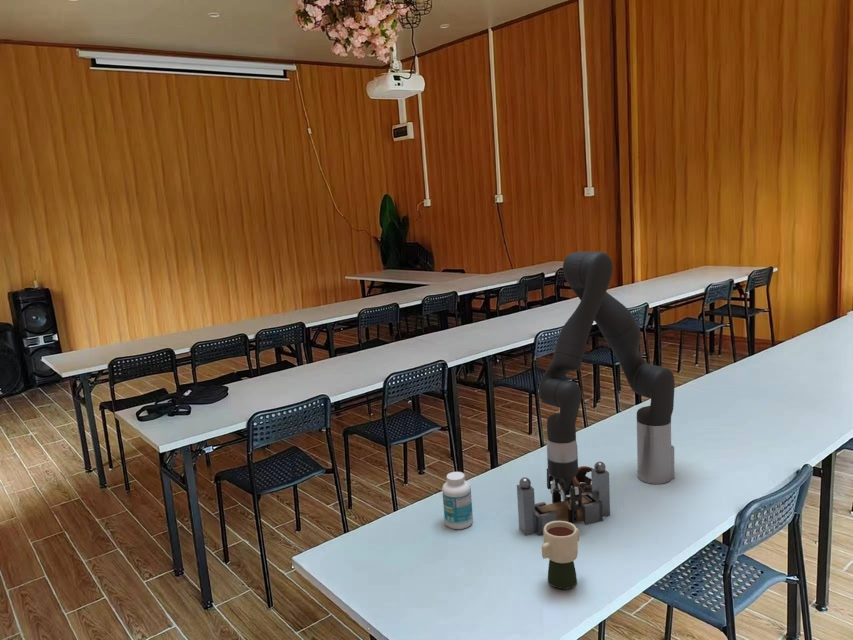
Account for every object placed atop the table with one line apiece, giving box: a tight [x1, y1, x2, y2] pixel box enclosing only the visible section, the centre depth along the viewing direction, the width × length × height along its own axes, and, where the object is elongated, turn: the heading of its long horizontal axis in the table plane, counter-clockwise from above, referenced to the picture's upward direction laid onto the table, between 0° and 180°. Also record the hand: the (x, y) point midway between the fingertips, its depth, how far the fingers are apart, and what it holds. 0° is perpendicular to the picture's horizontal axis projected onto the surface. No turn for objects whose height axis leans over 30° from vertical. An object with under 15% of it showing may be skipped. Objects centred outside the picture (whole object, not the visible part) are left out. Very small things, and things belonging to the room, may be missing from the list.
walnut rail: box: [536, 495, 592, 525], centre depth 168 cm, size 14×3×5 cm, turn 107°
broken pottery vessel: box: [573, 465, 594, 494], centre depth 184 cm, size 12×10×8 cm
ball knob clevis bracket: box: [516, 461, 611, 537], centre depth 167 cm, size 24×7×14 cm, turn 106°
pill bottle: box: [441, 471, 474, 530], centre depth 171 cm, size 8×7×14 cm
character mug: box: [541, 521, 580, 589], centre depth 142 cm, size 11×7×13 cm, turn 125°
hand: (564, 514), depth 168 cm, fingers open, 8 cm apart
